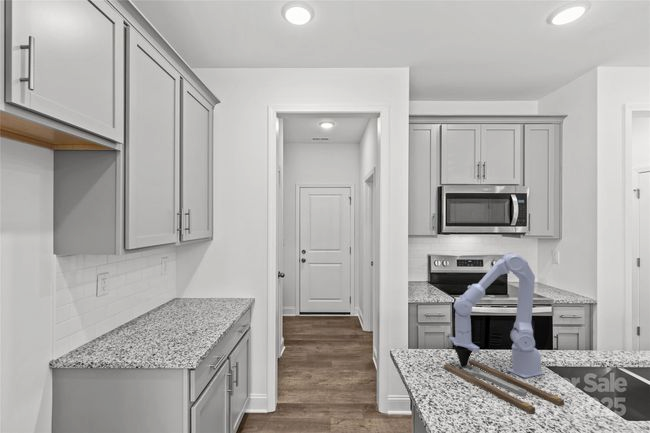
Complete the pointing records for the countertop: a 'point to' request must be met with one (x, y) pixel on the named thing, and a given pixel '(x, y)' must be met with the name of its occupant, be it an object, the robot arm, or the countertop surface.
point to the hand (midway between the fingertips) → (464, 366)
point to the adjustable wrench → (494, 380)
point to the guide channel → (501, 394)
